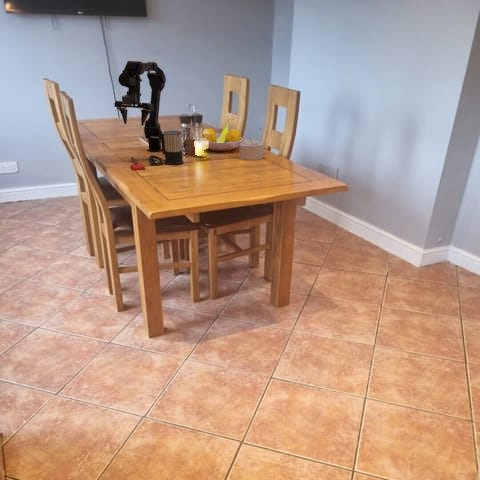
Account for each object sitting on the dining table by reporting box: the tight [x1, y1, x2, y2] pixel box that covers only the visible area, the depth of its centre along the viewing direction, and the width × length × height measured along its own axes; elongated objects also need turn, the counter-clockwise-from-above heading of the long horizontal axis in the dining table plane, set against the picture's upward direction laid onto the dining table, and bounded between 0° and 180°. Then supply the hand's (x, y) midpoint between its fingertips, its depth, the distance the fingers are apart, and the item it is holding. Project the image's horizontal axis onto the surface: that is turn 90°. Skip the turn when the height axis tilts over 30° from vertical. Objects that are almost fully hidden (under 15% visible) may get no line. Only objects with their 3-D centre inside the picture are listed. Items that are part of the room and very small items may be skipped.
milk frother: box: [147, 129, 184, 166], centre depth 224 cm, size 14×16×15 cm
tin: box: [183, 137, 201, 158], centre depth 242 cm, size 15×3×8 cm, turn 47°
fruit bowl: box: [201, 123, 245, 152], centre depth 257 cm, size 28×27×11 cm
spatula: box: [130, 156, 146, 171], centre depth 224 cm, size 21×6×1 cm, turn 19°
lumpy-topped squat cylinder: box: [238, 138, 265, 161], centre depth 240 cm, size 10×13×9 cm
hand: (133, 124), depth 225 cm, fingers open, 9 cm apart
